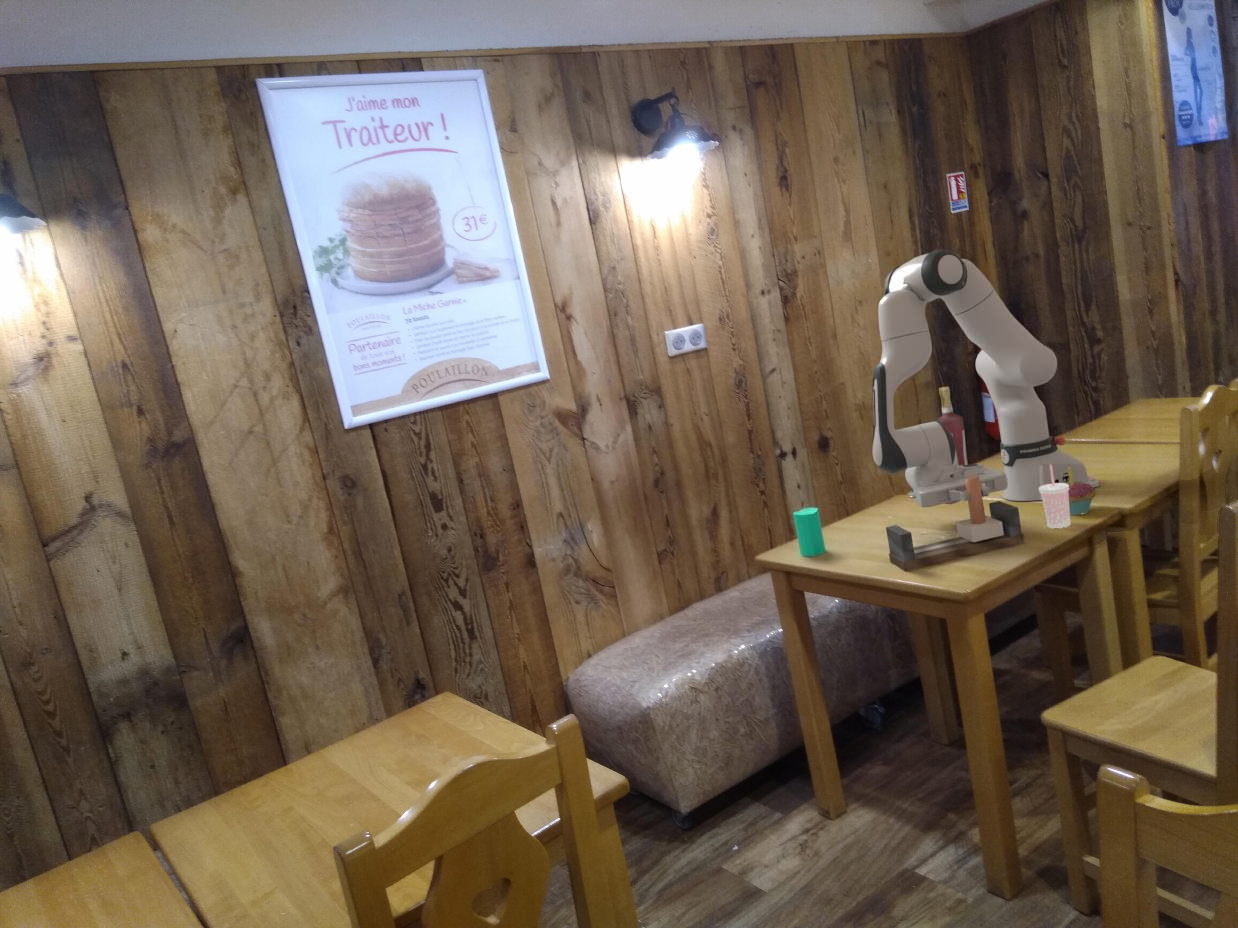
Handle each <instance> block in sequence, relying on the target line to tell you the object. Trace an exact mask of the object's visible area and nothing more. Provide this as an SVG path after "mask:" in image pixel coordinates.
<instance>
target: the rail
mask: <svg viewBox="0 0 1238 928" xmlns="http://www.w3.org/2000/svg"><path fill="white" fill-rule="evenodd" d="M988 507H989V513H990V517H991V518H994V519H996V520H999V521H1001V522H1002V526H1003V533H1004V535H1002V536H998V537H994V538H989V539H985V540H981V541H977V542H971V541H969V540H967V539H965V538H963V537H960V536H957V537H954V538H949V539H945V540H941V541H936V542H932V543H928V544H924V545H919V546H918V545H917V546H915V547H914V544H913V543H914V542H913V537H912V536H913V535H912V532H911V531H909V530H907V529H905V528H903V527H901V526H899V525H897V524H895V525H890V526H886V527H885V531H886V538H887V543H888V549H889V552H888V556H889V562H890V563H891V564H893V565H894V566H895V567H897V568H899V569H901V570H902V571H903V572H908V571H912V570H916V569H919V568H924V567H928V566H932V565H937V564H940V563H941V564H942V563H944V562H945V563H946V562H949V561H953V560H958V559H959V560H960V559H962V558H966V557H970V556H975V555H979V554H983V553H988V552H991V551H995V550H1001V549H1005V548H1009V547H1014V546H1017V545H1022V544H1025V536H1024V533H1023V531H1022V525H1021V519H1020V511H1019V507H1017V506H1014V505H1012V504H1009V503H1006V502H1003V501H1001V500H998V501H994V502H993V501H992V502H989V503H988Z"/></svg>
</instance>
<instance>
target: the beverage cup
mask: <svg viewBox="0 0 1238 928" xmlns="http://www.w3.org/2000/svg"><path fill="white" fill-rule="evenodd" d="M1050 472H1051V480H1052V484H1046V485H1043V486H1040V487H1039V492H1040V493H1041V497H1042V500H1041V501H1042V506H1043V510H1044V516H1045V519H1046V525H1047V528H1049V527H1050V528H1049V529H1054V528H1059V529H1064V528H1063V527H1065V528H1068V527H1070V526H1071V515H1070V510H1069V494H1068V490H1069V485H1068V484H1065V483H1054V477H1053V469H1052V465H1050ZM1069 525H1070V526H1069ZM1067 526H1068V527H1067Z"/></svg>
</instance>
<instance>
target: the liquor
mask: <svg viewBox="0 0 1238 928" xmlns="http://www.w3.org/2000/svg"><path fill="white" fill-rule="evenodd" d="M938 391H939V395H940V400H941V415H942V416H940V417H938V418H937V419H936V420H935V421H936V422H939V423H940V424H942V425H943V426H945V427H946V428H947V429H948V430H949V431H950V433H951V434H952V436H953V439H954V442H955V459H954V463H953V465H969V464H968V455H967V447H966V435H965V426H964V417H963V416H960V415H959V414H955V413H954V409H953V405H952V401H951V392H950V387H949V386H942V387H939V388H938Z"/></svg>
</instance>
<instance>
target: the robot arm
mask: <svg viewBox="0 0 1238 928" xmlns="http://www.w3.org/2000/svg"><path fill="white" fill-rule="evenodd" d="M883 285H884V287H883V293H884V294H883V297H882V298H881V299H880V301H879V302H878V306H877V307H878V308H877V309H878V316H877V317H878V327H879V335H880V341H881V347H882V349H881V357H880V361H879V363H878V364H877V365H875V367H874V368H873V373H872V384H871V385H872V390H871V391H872V419H873V422H872V424H873V425H872V427H873V429H872V430H873V435H872V446H871V447H872V448H871V450H872V451H871V452H872V458H873V462H874V464H875V465H876V467H877V468H878V469H880V470H882V471H883V472H885V473H887V474H890V475H894V474H897V473H900V472H904V471H905V472H904V476H905V479H906V482H907V484H908V485H909V486H910V488H912V490H911V491H910V492H908V493H907V497H908V498H910V499H914V501H915V503H916V504H917V505H918V506H919V507H921V508H931V507H934V506H935V507H936V506H940V505H944V504H945V505H954V504H957V503H960V501H961V502H966V501H967V502H968V500H970V497H969V492H967V491H966V485H965V478H966V477H971V476H979V479H980V486H981V492H982V498H984V497H987V496H990V493H996V492H1000V491H1002V498H1003V499H1005V500H1009V501H1016V502H1027V501H1028V502H1029V501H1031V502H1033V501H1042V497H1041V493H1040V492H1039V487H1040V486H1043V485H1046V484H1052V480H1051V472H1050V465H1052V469H1053V477H1054V483H1065V484H1066V483H1069V482H1070V477H1069V471H1068V467H1069V464H1070V467H1071V469H1072V475H1073V482H1083V483H1086V484H1089V485H1091V486H1092V487H1093V488H1094V489H1095V488H1097V487H1100V482H1099V480H1098V479H1096V478H1094V477H1091V476H1088V475H1089V474H1088V472H1087V468H1086V466H1085V465H1084V463H1083V462H1082V461H1081V460H1080V459H1078V458H1076V457H1074V456H1072V455H1070V454H1068V453H1067V452H1065V451H1063V450H1060V449H1059V446H1064V445H1065V443H1066V438H1064V437H1061V436H1055V437H1054V436H1051V435H1050V433H1049V432H1050V431H1049V427H1048V426H1049V425H1048V418H1047V412H1046V411H1047V410H1046V406H1045V405H1044V403H1043V401H1042V400H1040V398H1039V396H1038V394H1037V393H1036V391H1035V389H1034V387H1038V386H1041V385H1043V384H1046V383H1048V382H1049V381H1051V379H1053V377H1054V376H1055V374H1056V371H1057V368H1058V360H1057V357H1056V354H1055V352H1054V351H1053V350H1052V349H1051V348H1049V347H1047V346H1046V345H1044V344H1043V343H1041V342H1040V341H1039V340H1037V338H1036V337H1034V336H1033V335H1032V334H1031V332H1029V330H1028V329H1026V327H1024V325H1022V324H1021V323H1020V322H1019V321H1018V320H1017V319H1016V318H1015V317H1014V315H1013V314H1012V313H1011V311H1009V309H1008V308H1007V305H1006V304H1005V303H1004V302H1003V300H1002V299H1001V297H1000V296H999V294H998V293H997V291H996V290H995V288H994V287H993V285H992V284H991V282H990V281H989V280H988V279H987V277H986V276H985V274H983V273H982V271H981V270H980V269H979V267H977V265H975V264H974V263H973V262H972V261H970V260H969V259H966V258H961V256H959V255H958V254H957V253H955V252H954V251H952V250H950V249H938V250H933V251H930V252H929V253H925V254H922V255H918V256H915V257H914V258H912V259H911V260H909V261H907V262H905V263H904V264H900V265H898V266H896V267H895V268H893V269H891V270H890V272H889V273H888V274H887V276H886V278H885V280H884V284H883ZM937 299H941V300H942V301H943V302H944V303H945V305H946V306H947V308H948V311H949V312H950V313H951V315H952V316H953V318H954V319H955V320H956V322H957V323H958V325H959V327H960V328H961V330H962V331H963V333H964V334H965V336H966V337H967V339H968V340H969V341H971V342H972V343H974V344H975V345H976V346H977V347H978V348H980V349H981V350H980V351H979V353H978V354H977V357H976V359H975V370H976V372H977V374H978V376H979V377H980V378H981V379H982V380H983V382H984V383H985V385H986V388H987V391H988V392H989V396H990V397H991V398H990V399H991V401H992V403H993V406H994V408H995V412H996V416H997V420H998V421H997V422H998V429H999V432H1000V433H999V434H1000V440H1001V441H1000V442H999V447H1000V455H1001V456H1000V457H1001V459H1002V464H1003V470H1004V471H1002V470H999V469H997V468H996V469H995V468H992V467H984V464H982V463H972V464H971V463H970V464H968V465H953V463H954V459H955V442H954V439H953V436H952V434H951V433H950V431H949V430H948V429H947V428H946V427H945V426H943V425H942V424H940V423H939V422H936V420H935V421H930V422H925V423H920V424H915V425H912V426H908V427H903V428H900V429H895V416H894V414H895V413H894V412H895V410H894V396H895V393H896V390H897V389H898V387H899V386H900V385H902V383H904V381H906V380H907V379H909V378H911V377H912V376H914V375H915V374H917V373H918V372H920V371H921V370H922V369H923V367H925V366H926V364H927V363H928V362H929V360H930V357H931V356H932V350H933V349H932V348H933V347H932V346H933V345H932V339H931V333H930V331H929V329H930V328H929V325H928V320H927V318H926V308H927V304H928V303H931V302H933V301H935V300H937ZM1057 445H1059V446H1057Z"/></svg>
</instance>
